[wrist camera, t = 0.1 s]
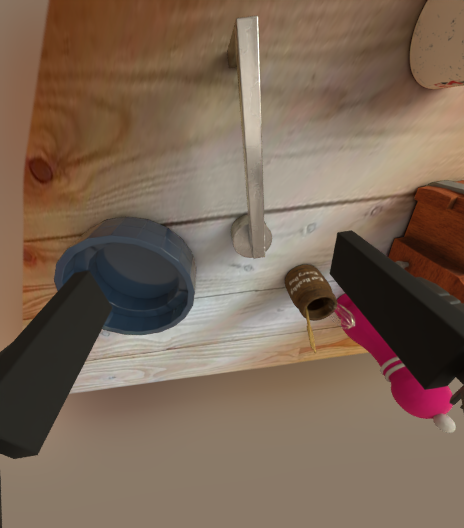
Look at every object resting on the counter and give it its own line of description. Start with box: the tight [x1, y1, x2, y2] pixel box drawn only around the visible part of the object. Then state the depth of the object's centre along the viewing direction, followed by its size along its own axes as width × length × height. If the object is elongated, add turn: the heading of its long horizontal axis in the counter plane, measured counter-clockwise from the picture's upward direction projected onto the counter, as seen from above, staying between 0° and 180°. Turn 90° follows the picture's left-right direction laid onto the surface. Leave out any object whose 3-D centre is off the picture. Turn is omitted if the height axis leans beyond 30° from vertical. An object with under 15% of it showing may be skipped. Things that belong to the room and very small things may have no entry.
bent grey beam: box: [227, 16, 272, 258], centre depth 22 cm, size 20×5×7 cm, turn 7°
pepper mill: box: [334, 294, 456, 433], centre depth 31 cm, size 7×7×20 cm
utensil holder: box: [285, 265, 355, 353], centre depth 30 cm, size 6×6×12 cm
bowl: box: [54, 217, 196, 335], centre depth 28 cm, size 16×16×6 cm
